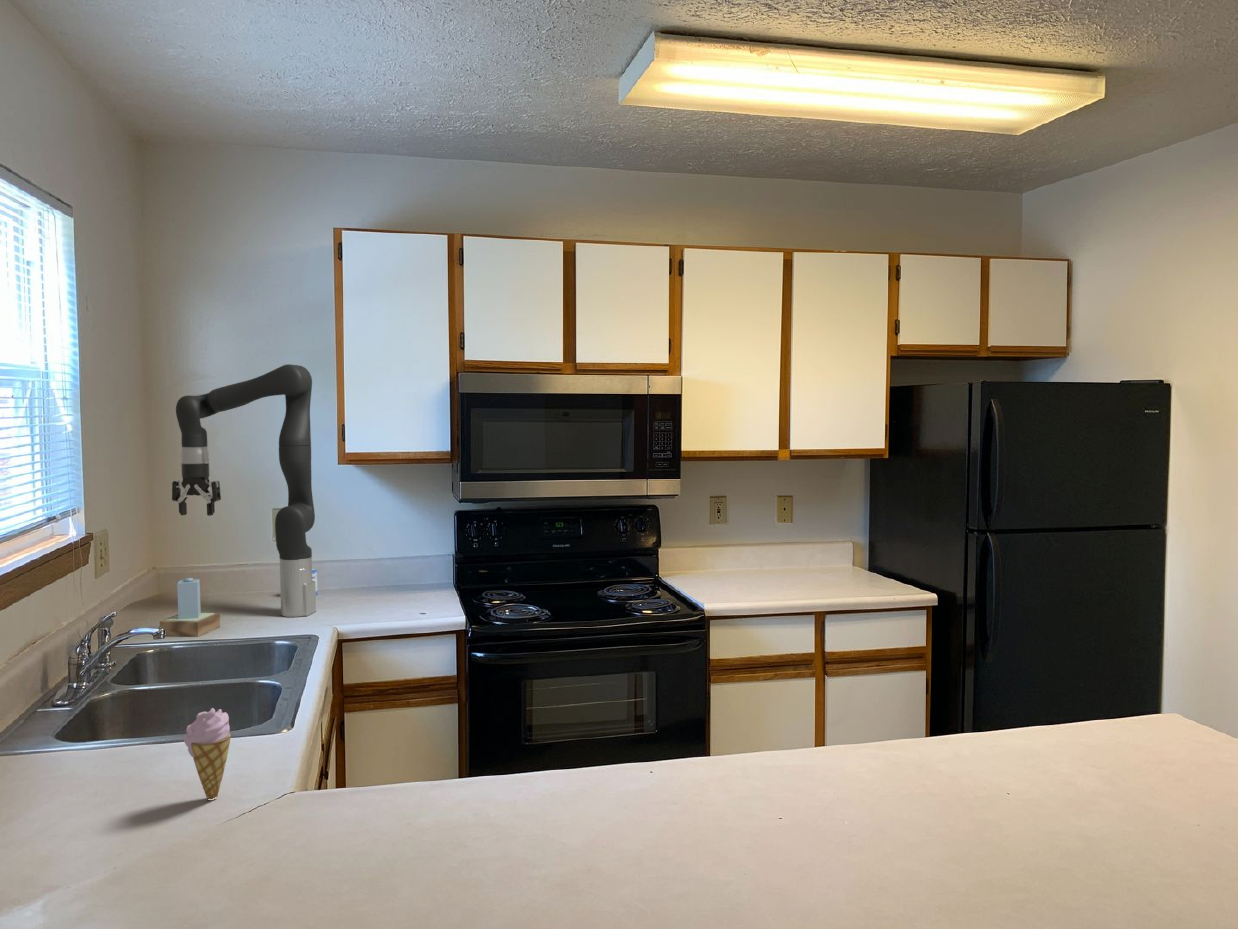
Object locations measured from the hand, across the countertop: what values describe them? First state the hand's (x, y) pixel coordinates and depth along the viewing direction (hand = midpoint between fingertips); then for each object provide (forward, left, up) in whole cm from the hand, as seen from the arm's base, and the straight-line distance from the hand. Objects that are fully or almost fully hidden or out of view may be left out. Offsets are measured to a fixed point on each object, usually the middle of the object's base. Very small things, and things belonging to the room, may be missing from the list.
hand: (197, 515), depth 268 cm
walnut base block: (-10, +21, -30) cm, 38 cm away
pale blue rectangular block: (-10, +21, -26) cm, 35 cm away
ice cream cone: (-76, +122, -30) cm, 147 cm away
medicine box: (-20, -27, -30) cm, 45 cm away
